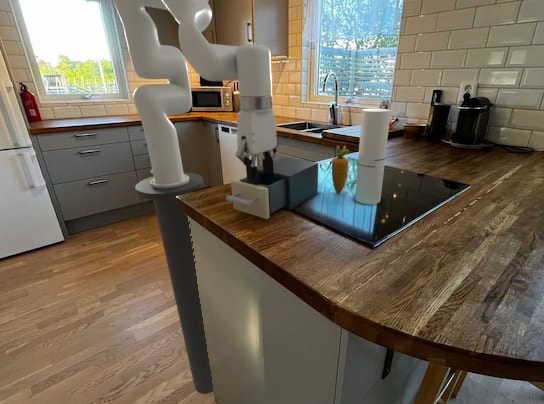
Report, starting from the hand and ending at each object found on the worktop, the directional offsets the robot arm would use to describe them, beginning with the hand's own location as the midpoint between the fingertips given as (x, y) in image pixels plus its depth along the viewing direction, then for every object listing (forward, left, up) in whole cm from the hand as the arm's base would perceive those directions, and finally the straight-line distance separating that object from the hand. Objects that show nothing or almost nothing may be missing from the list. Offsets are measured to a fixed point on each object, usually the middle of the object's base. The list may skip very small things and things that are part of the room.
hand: (260, 176), depth 77 cm
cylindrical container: (+21, +22, -10) cm, 32 cm away
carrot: (+12, +21, -10) cm, 26 cm away
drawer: (0, -1, -9) cm, 9 cm away
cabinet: (0, +11, -9) cm, 15 cm away
